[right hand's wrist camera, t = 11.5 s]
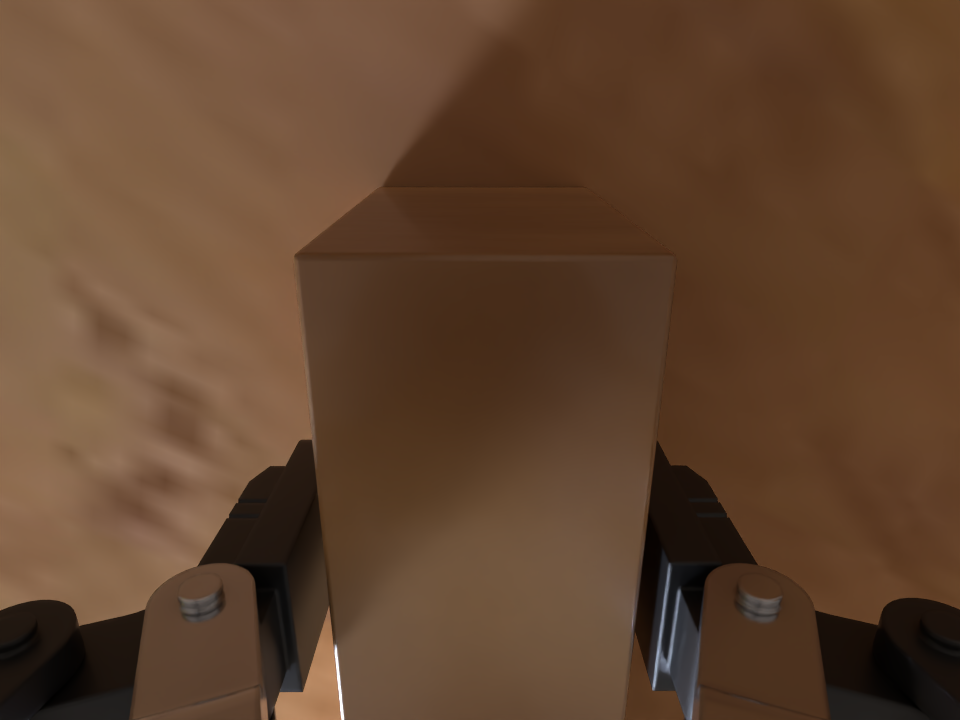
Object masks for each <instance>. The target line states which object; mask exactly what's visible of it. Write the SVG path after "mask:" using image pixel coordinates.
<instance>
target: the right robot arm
mask: <svg viewBox="0 0 960 720" xmlns="http://www.w3.org/2000/svg"><path fill="white" fill-rule="evenodd" d="M328 607H329V597H328V587H327V578H326V568H325V558H324V549H323V539H322V530H321V520H320V511H319V501H318V492H317V482H316V472H315V463H314V453H313V444H312V440H300V441H299V443H298V444H297V446H296V448H295V450H294V452H293V453H292V455H291V457H290V459H289V461H288V463H287V465H286V466H270V467H269V468H267V469H266V470H265V471H263V472H262V473H260V474H259V475H258V476H256V477H255V478H254V479H252V480H251V481H250V482H249V483H248V485H247V486H246V488H245V490H244V491H243V493H242V495H241V496H240V498H239V499H238V503H236V504H235V506H234V508H233V509H232V511H231V512H230V514H229V518H227V519H226V521H225V522H224V524H223V525H222V527H221V529H220V530H219V532H218V534H217V535H216V537H215V538H214V540H213V542H212V543H211V545H210V547H209V548H208V550H207V551H206V553H205V555H204V556H203V558H202V560H201V561H200V563H199V565H198V566H197V567H194V568H191V569H188V570H186V571H183V572H181V573H179V574H177V575H175V576H174V577H172V578H170V579H169V580H167V581H166V582H165V583H163V584H162V585H161V586H160V587H159V588H158V589H157V590H156V591H155V592H154V593H153V594H152V596H151V597H150V599H149V601H148V603H147V605H146V609H145V610H142V611H139V612H137V613H133V614H130V615H126V616H122V617H117V618H113V619H108V620H104V621H99V622H95V623H91V624H86V625H82V626H79V624H78V621H77V617H76V614H75V612H74V610H73V609H72V608H71V606H69V605H68V604H66V603H63V602H60V601H55V600H37V601H30V602H26V603H21V604H18V605H14V606H11V607H8V608H6V609H3V610H1V611H0V720H277V719H276V713H275V704H276V701H277V698H278V695H279V692H303V690H304V686H305V683H306V680H307V676H308V673H309V670H310V666H311V663H312V660H313V657H314V653H315V650H316V647H317V643H318V640H319V637H320V633H321V630H322V627H323V623H324V620H325V617H326V614H327V610H328ZM635 632H636V635H637V639H638V642H639V646H640V649H641V652H642V656H643V659H644V662H645V666H646V669H647V673H648V676H649V679H650V683H651V686H652V690H653V691H676V693H677V696H678V699H679V702H680V705H681V708H682V711H683V714H684V719H683V720H960V610H959V609H957V608H954V607H952V606H949V605H946V604H943V603H940V602H936V601H932V600H927V599H920V598H903V599H898V600H894V601H892V602H890V603H888V604H887V605H886V606H885V607H884V609H883V611H882V614H881V617H880V621H879V624H878V625H874V624H870V623H865V622H861V621H856V620H852V619H847V618H843V617H838V616H834V615H830V614H826V613H822V612H819V611H816V610H815V609H814V605H813V603H812V601H811V599H810V597H809V596H808V594H807V593H806V592H805V591H804V590H803V589H802V588H801V587H800V586H799V585H798V584H797V583H795V582H794V581H793V580H791V579H790V578H788V577H786V576H785V575H783V574H781V573H779V572H777V571H774V570H772V569H769V568H766V567H762V566H758V565H757V563H756V561H755V560H754V558H753V556H752V555H751V553H750V551H749V550H748V548H747V546H746V545H745V543H744V542H743V540H742V538H741V537H740V535H739V533H738V532H737V530H736V528H735V527H734V525H733V523H732V522H731V520H730V518H727V513H726V512H725V510H724V508H723V507H722V505H721V504H720V502H718V499H717V497H716V495H715V494H714V492H713V490H712V489H711V487H710V485H709V484H708V482H707V481H706V480H705V479H703V478H702V477H701V476H699V475H698V474H697V473H695V472H694V471H693V470H691V469H690V468H689V467H687V466H671V465H670V463H669V462H668V460H667V458H666V456H665V454H664V452H663V450H662V448H661V447H660V445H659V443H658V441H657V442H656V451H655V459H654V468H653V477H652V486H651V494H650V503H649V512H648V521H647V529H646V538H645V547H644V555H643V564H642V573H641V582H640V590H639V599H638V608H637V617H636V625H635Z"/></svg>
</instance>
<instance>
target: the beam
mask: <svg viewBox="0 0 960 720" xmlns="http://www.w3.org/2000/svg"><path fill="white" fill-rule="evenodd" d="M293 262H294V272H295V282H296V291H297V301H298V310H299V320H300V329H301V339H302V348H303V358H304V367H305V377H306V387H307V396H308V406H309V415H310V425H311V434H312V444H313V453H314V463H315V472H316V482H317V492H318V501H319V511H320V520H321V530H322V539H323V549H324V558H325V568H326V578H327V587H328V597H329V606H330V616H331V625H332V635H333V644H334V654H335V663H336V673H337V683H338V692H339V702H340V711H341V720H625V713H626V704H627V695H628V686H629V678H630V669H631V660H632V652H633V643H634V634H635V625H636V617H637V608H638V599H639V590H640V582H641V573H642V564H643V555H644V547H645V538H646V529H647V521H648V512H649V503H650V494H651V486H652V477H653V468H654V459H655V451H656V442H657V433H658V424H659V416H660V407H661V398H662V390H663V381H664V372H665V363H666V355H667V346H668V337H669V328H670V320H671V311H672V302H673V294H674V285H675V276H676V267H677V258H676V255H675V254H674V253H672V252H671V251H670V250H668V249H667V248H666V247H664V246H663V245H662V244H660V243H659V242H658V241H656V240H655V239H654V238H652V237H651V236H650V235H648V234H647V233H646V232H645V231H643V230H642V229H641V228H639V227H638V226H637V225H635V224H634V223H633V222H631V221H630V220H629V219H627V218H626V217H625V216H623V215H622V214H621V213H619V212H618V211H617V210H616V209H614V208H613V207H612V206H610V205H609V204H608V203H606V202H605V201H604V200H602V199H601V198H600V197H598V196H597V195H596V194H594V193H593V192H592V191H590V190H589V189H588V188H585V187H380V188H378V189H376V190H375V191H374V192H373V193H371V194H370V195H369V196H368V197H366V198H365V199H364V200H363V201H361V202H360V203H359V204H357V205H356V206H355V207H354V208H352V209H351V210H350V211H349V212H347V213H346V214H345V215H344V216H342V217H341V218H340V219H339V220H337V221H336V222H335V223H334V224H332V225H331V226H330V227H329V228H327V229H326V230H325V231H324V232H322V233H321V234H320V235H319V236H317V237H316V238H315V239H314V240H312V241H311V242H310V243H309V244H307V245H306V246H305V247H304V248H302V249H301V250H300V251H299V252H297V253H296V254H295V256H294V259H293Z"/></svg>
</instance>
